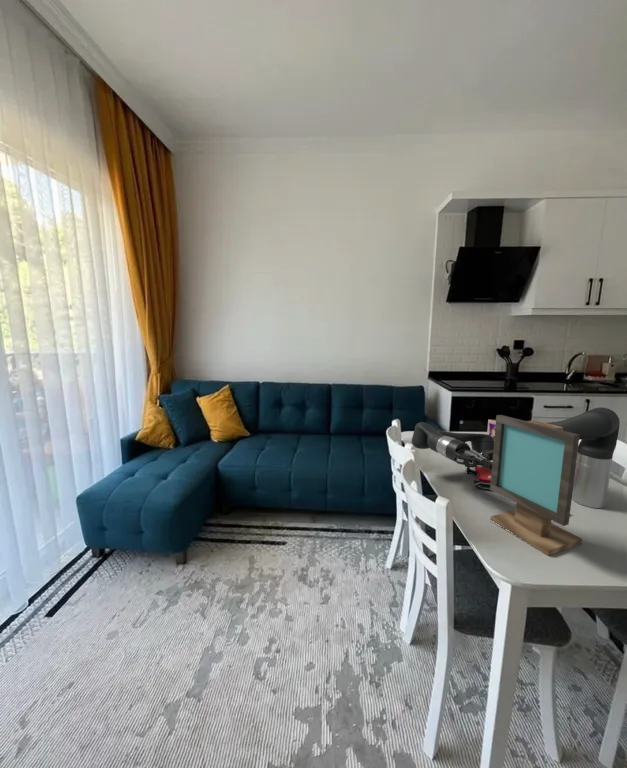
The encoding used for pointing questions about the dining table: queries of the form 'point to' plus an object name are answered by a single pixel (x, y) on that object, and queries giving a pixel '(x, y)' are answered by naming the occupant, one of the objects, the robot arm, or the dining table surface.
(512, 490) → the picture frame
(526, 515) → the framed display stand
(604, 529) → the dining table surface
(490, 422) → the greeting card
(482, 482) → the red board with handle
